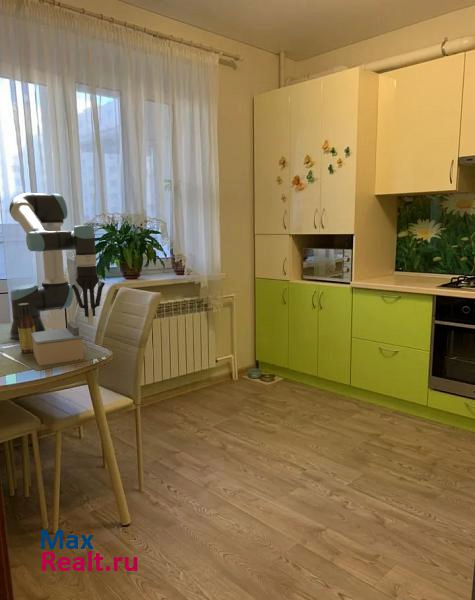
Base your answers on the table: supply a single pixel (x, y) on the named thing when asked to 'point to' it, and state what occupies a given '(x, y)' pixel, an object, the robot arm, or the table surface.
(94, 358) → the table surface
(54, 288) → the robot arm
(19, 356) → the table surface
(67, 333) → the mailer lid
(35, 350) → the mailer box
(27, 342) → the sauce bottle
